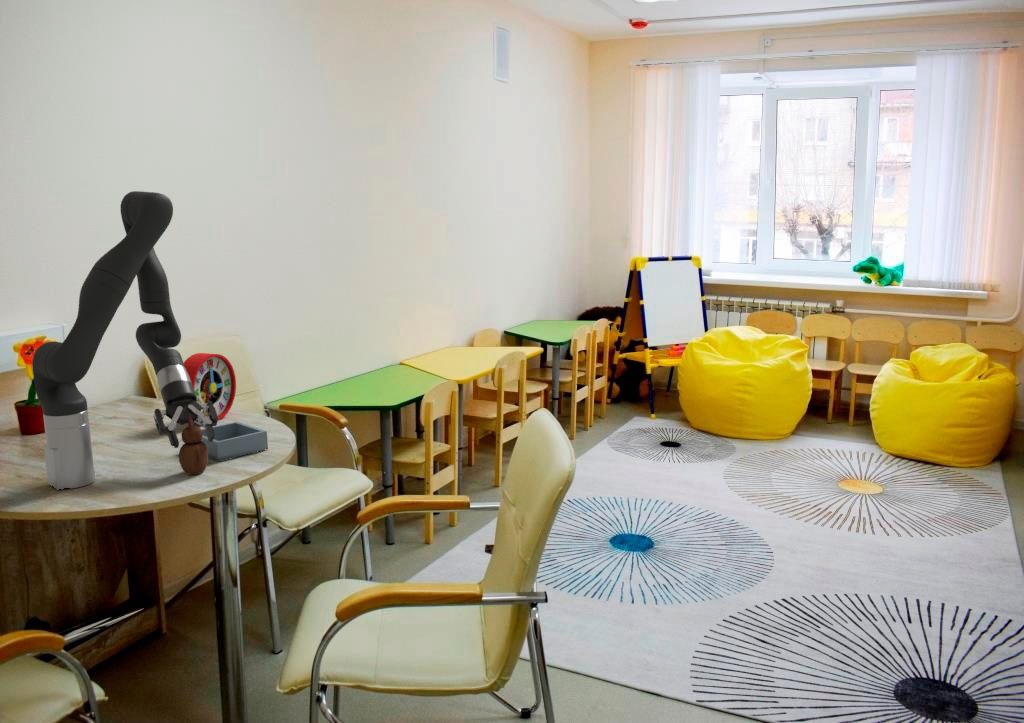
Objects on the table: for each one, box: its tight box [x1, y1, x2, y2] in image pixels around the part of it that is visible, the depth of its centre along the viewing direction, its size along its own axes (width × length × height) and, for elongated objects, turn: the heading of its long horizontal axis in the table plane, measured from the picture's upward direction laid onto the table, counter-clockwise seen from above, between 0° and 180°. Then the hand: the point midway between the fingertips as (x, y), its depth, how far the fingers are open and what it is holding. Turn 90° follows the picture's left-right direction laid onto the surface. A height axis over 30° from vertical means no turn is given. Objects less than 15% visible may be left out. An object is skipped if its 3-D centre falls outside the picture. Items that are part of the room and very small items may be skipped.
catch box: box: [200, 421, 269, 462], centre depth 232 cm, size 14×15×5 cm
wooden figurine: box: [178, 414, 209, 475], centre depth 213 cm, size 7×6×15 cm
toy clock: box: [183, 352, 237, 421], centre depth 262 cm, size 20×6×20 cm, turn 161°
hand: (194, 443), depth 212 cm, fingers open, 7 cm apart
